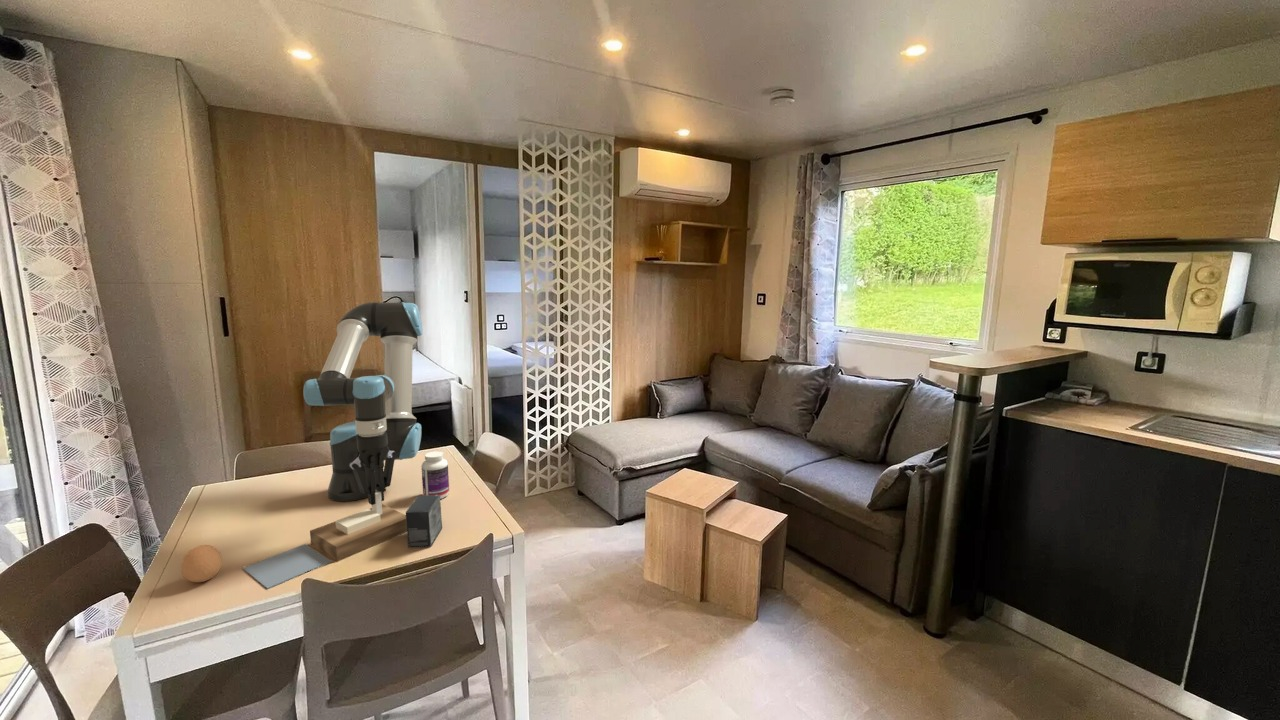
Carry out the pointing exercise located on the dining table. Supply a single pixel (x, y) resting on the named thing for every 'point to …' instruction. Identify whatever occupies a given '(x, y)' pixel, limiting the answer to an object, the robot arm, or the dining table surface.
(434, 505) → the small box
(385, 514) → the wooden block
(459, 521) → the dining table surface
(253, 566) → the mat
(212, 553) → the egg
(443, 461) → the pill bottle
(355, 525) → the cream butter stick
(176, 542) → the dining table surface
